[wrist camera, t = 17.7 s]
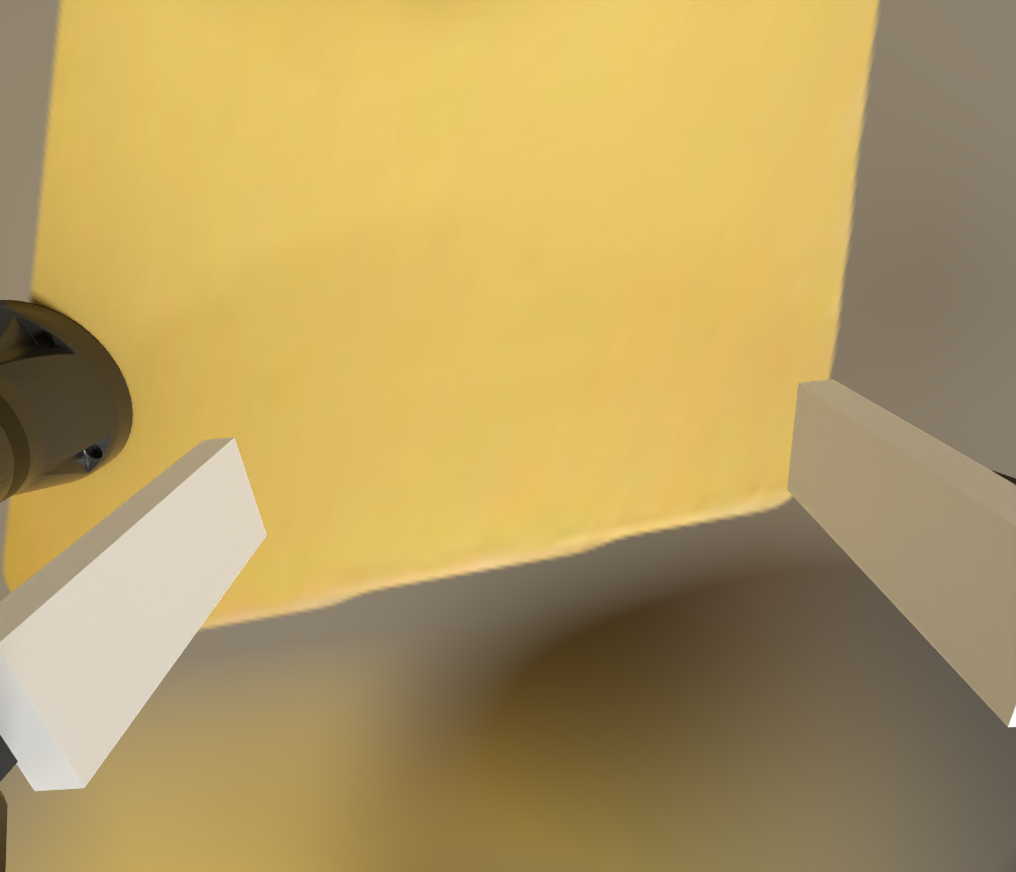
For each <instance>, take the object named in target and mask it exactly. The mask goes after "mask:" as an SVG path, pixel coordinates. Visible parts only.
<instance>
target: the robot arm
mask: <svg viewBox="0 0 1016 872" xmlns="http://www.w3.org/2000/svg"><path fill="white" fill-rule="evenodd" d="M132 416H133V415H132V403H131V398H130V394H129V390H128V388H127V385H126V382H125V380H124V378H123V376H122V374H121V372H120V370H119V368H118V367H117V365H116V363H115V362H114V360H113V359H112V358H111V356H110V355H109V354H108V352H107V351H106V350H105V349H104V348H103V347H102V345H101V344H100V343H99V342H98V341H97V340H96V339H95V338H93V337H92V336H91V335H90V334H89V333H88V332H87V331H85V330H84V329H83V328H81V327H80V326H79V325H77V324H76V323H74V322H73V321H71V320H70V319H68V318H66V317H64V316H63V315H61V314H59V313H57V312H55V311H52V310H50V309H48V308H45V307H42V306H39V305H36V304H32V303H28V302H22V301H14V300H0V502H2V501H4V500H5V499H7V498H9V497H10V496H13V495H17V494H21V493H26V492H30V491H35V490H39V489H44V488H48V487H53V486H57V485H61V484H66V483H70V482H73V481H76V480H79V479H82V478H84V477H86V476H88V475H90V474H92V473H93V472H95V471H96V470H98V469H99V468H101V467H102V466H104V465H105V464H107V463H108V462H110V461H111V460H112V459H114V458H115V457H116V456H117V455H118V454H119V453H120V451H121V450H122V449H123V447H124V446H125V444H126V442H127V440H128V437H129V434H130V431H131V427H132ZM787 490H788V491H789V492H790V493H791V494H792V495H793V496H794V497H795V499H796V500H797V501H798V502H799V503H800V504H801V505H802V506H803V507H804V508H805V509H806V510H807V511H808V513H809V514H810V515H811V516H812V517H813V518H814V519H815V520H816V521H817V522H818V523H819V524H820V525H821V526H822V528H823V529H824V530H825V531H826V532H827V533H828V534H829V535H830V536H831V537H832V538H833V539H834V540H835V542H836V543H837V544H838V545H839V546H840V547H841V548H842V549H843V550H844V551H845V552H846V553H847V554H848V556H849V557H850V558H851V559H853V561H854V562H855V563H856V564H857V565H858V566H859V567H860V568H861V569H862V570H863V572H865V574H866V575H867V576H868V577H869V578H870V579H871V580H872V581H873V582H874V583H875V584H876V586H877V587H878V588H879V589H880V590H881V591H882V592H883V593H884V594H885V595H886V596H887V597H888V598H889V599H890V601H891V602H892V603H893V604H894V605H895V606H896V607H897V608H898V609H899V610H900V611H901V612H902V614H903V615H904V616H905V617H906V618H907V619H908V620H909V621H910V622H911V623H912V624H913V625H914V626H915V628H917V630H918V631H919V632H920V633H921V634H922V635H923V636H924V637H925V638H926V639H927V640H928V641H929V642H930V644H931V645H932V646H933V647H934V648H935V649H936V650H937V651H938V652H939V653H940V654H941V655H942V657H943V658H944V659H945V660H946V661H947V662H948V663H949V664H950V665H951V666H952V667H953V668H954V669H955V671H956V672H957V673H958V674H959V675H960V676H961V677H962V678H963V679H964V680H965V681H966V682H967V683H968V684H969V686H971V688H972V689H973V690H974V691H975V692H976V693H977V694H978V695H979V696H980V697H981V698H982V700H983V701H984V702H985V703H986V704H987V705H988V706H989V707H990V708H991V709H992V710H993V711H994V712H995V713H996V715H997V716H998V717H999V718H1000V719H1001V720H1002V721H1003V722H1004V723H1005V724H1006V725H1007V726H1008V727H1016V479H1015V478H1012V477H1009V476H1006V475H1004V474H1001V473H998V472H995V471H991V470H989V469H987V468H986V467H984V466H982V465H980V464H979V463H977V462H975V461H973V460H972V459H970V458H968V457H966V456H965V455H963V454H961V453H960V452H958V451H956V450H954V449H953V448H951V447H949V446H947V445H945V444H944V443H942V442H941V441H939V440H937V439H935V438H934V437H932V436H930V435H928V434H927V433H925V432H923V431H922V430H920V429H918V428H916V427H915V426H913V425H911V424H909V423H908V422H906V421H904V420H902V419H901V418H899V417H897V416H896V415H894V414H892V413H890V412H889V411H887V410H885V409H883V408H882V407H880V406H878V405H876V404H875V403H873V402H871V401H870V400H868V399H866V398H864V397H863V396H860V395H859V394H857V393H856V392H854V391H852V390H850V389H848V388H847V387H845V386H844V385H842V384H840V383H838V382H837V381H835V380H823V381H813V382H802V383H798V393H797V402H796V411H795V421H794V430H793V440H792V449H791V459H790V468H789V478H788V487H787ZM265 537H266V532H265V529H264V526H263V523H262V520H261V517H260V513H259V510H258V507H257V504H256V501H255V498H254V495H253V492H252V489H251V486H250V483H249V480H248V477H247V474H246V471H245V468H244V465H243V462H242V459H241V456H240V453H239V450H238V447H237V444H236V440H235V437H233V438H223V439H212V440H203V441H202V442H201V443H199V444H198V445H197V446H196V447H194V448H193V449H192V450H191V451H189V452H188V453H187V454H186V455H184V456H183V457H182V458H180V459H179V460H178V461H177V462H175V463H174V464H173V465H172V466H170V467H169V468H168V469H167V470H165V471H164V472H163V473H162V474H160V475H159V476H158V477H157V478H155V479H154V480H153V481H152V482H150V483H149V484H148V485H147V486H145V487H144V488H143V489H141V490H140V491H139V492H138V493H136V494H135V495H134V496H133V497H131V498H130V499H129V500H128V501H126V502H125V503H124V504H123V505H121V506H120V507H119V508H118V509H116V510H115V511H114V512H113V513H111V514H110V515H109V516H108V517H106V518H105V519H104V520H103V521H101V522H100V523H99V524H97V525H96V526H95V527H94V528H92V529H91V530H90V531H89V532H87V533H86V534H85V535H84V536H82V537H81V538H80V539H79V540H77V541H76V542H75V543H74V544H72V545H71V546H70V547H69V548H67V549H66V550H65V551H64V552H62V553H61V554H60V555H58V556H57V557H56V558H55V559H53V560H52V561H51V562H50V563H48V564H47V565H46V566H45V567H43V568H42V569H41V570H40V571H38V572H37V573H36V574H35V575H33V576H32V577H31V578H29V579H28V580H27V581H26V582H24V583H23V584H22V585H21V586H19V587H18V588H17V589H16V590H14V591H13V592H12V593H11V594H9V595H8V596H7V597H6V598H5V599H3V600H2V601H1V602H0V781H1V780H2V779H3V778H4V777H5V776H6V774H7V773H8V772H9V771H10V770H11V769H12V768H13V766H14V765H15V764H17V765H18V767H19V768H20V770H21V771H22V773H23V774H24V776H25V777H26V779H27V780H28V781H29V783H30V785H31V786H32V788H33V789H34V790H35V791H44V790H59V789H75V788H85V786H86V785H87V783H88V782H89V781H90V779H91V778H92V776H93V775H94V774H95V772H96V771H97V770H98V768H99V767H100V765H101V764H102V763H103V761H104V760H105V758H106V757H107V756H108V754H109V753H110V752H111V750H112V749H113V747H114V746H115V745H116V743H117V742H118V740H119V739H120V738H121V736H122V735H123V734H124V732H125V731H126V729H127V728H128V727H129V725H130V724H131V722H132V721H133V719H134V718H135V717H136V716H137V714H138V713H139V711H140V710H141V709H142V707H143V706H144V704H145V703H146V702H147V700H148V699H149V698H150V696H151V695H152V693H153V692H154V691H155V689H156V688H157V686H158V685H159V683H160V682H161V681H162V680H163V678H164V677H165V675H166V674H167V673H168V671H169V670H170V668H171V667H172V666H173V664H174V663H175V661H176V660H177V659H178V657H179V656H180V655H181V653H182V652H183V650H184V649H185V648H186V646H187V645H188V643H189V642H190V641H191V639H192V638H193V637H194V635H195V634H196V632H197V631H198V630H199V628H200V627H201V625H202V624H203V623H204V621H205V620H206V619H207V617H208V616H209V614H210V613H211V612H212V610H213V609H214V607H215V606H216V605H217V603H218V602H219V601H220V599H221V598H222V596H223V595H224V594H225V592H226V591H227V589H228V588H229V587H230V585H231V584H232V583H233V581H234V580H235V578H236V577H237V576H238V574H239V573H240V571H241V570H242V569H243V567H244V566H245V565H246V563H247V562H248V560H249V559H250V558H251V556H252V555H253V553H254V552H255V551H256V549H257V548H258V546H259V545H260V544H261V542H262V541H263V540H264V538H265ZM6 833H7V803H6V800H5V798H4V795H3V794H2V793H1V791H0V872H5V868H6Z"/></svg>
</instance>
